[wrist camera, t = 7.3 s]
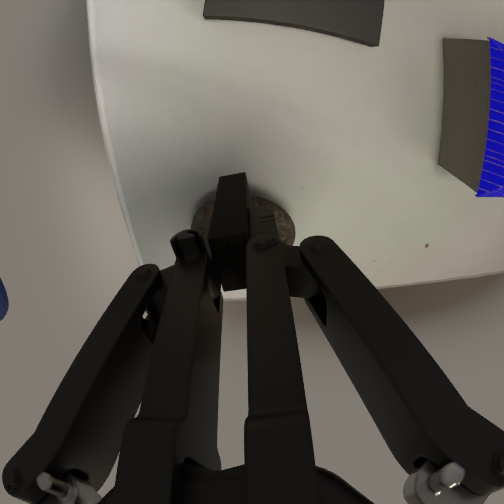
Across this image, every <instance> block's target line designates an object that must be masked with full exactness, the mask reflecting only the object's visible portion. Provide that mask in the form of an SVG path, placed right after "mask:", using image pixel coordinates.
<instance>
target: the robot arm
mask: <svg viewBox="0 0 504 504" xmlns="http://www.w3.org/2000/svg"><path fill="white" fill-rule="evenodd" d="M170 243H171V245H172V248H173V251H174V253H175V256H176V261H175V265H173V266H170V267H168V268H165V269H163V270H159V268H158V266H157V265H155V264H145V265H142V266H140V267H138V268H137V269H136V270H134V271H133V272H132V273H131V275H130V276H129V277H128V279H127V280H126V282H125V283H124V284H123V286H122V287H121V289H120V290H119V292H118V293H117V295H116V296H115V297H114V299H113V300H112V302H111V303H110V305H109V306H108V308H107V309H106V311H105V312H104V314H103V315H102V317H101V318H100V320H99V321H98V323H97V324H96V326H95V327H94V329H93V331H92V332H91V334H90V335H89V337H88V338H87V340H86V342H85V343H84V345H83V346H82V348H81V350H80V351H79V353H78V354H77V356H76V358H75V359H74V361H73V363H72V364H71V366H70V368H69V370H68V372H67V373H66V375H65V376H64V378H63V380H62V382H61V383H60V385H59V387H58V389H57V391H56V392H55V394H54V396H53V398H52V400H51V401H50V403H49V405H48V407H47V409H46V411H45V413H44V415H43V417H42V419H41V421H40V423H39V424H38V426H37V429H36V431H35V433H34V434H33V435H32V436H31V437H30V438H29V439H28V440H27V441H26V443H25V444H24V445H23V446H22V447H21V448H20V449H19V450H18V451H17V453H16V454H15V455H14V456H13V457H12V458H11V460H9V462H8V463H7V464H6V466H5V467H4V469H3V474H2V481H3V485H4V488H5V490H6V491H7V492H8V494H10V495H12V496H13V497H15V498H18V499H20V500H22V501H25V502H27V503H30V504H374V503H373V502H371V501H370V500H369V499H367V498H366V497H365V496H364V495H362V494H361V493H360V492H358V491H357V490H356V489H355V488H353V487H352V486H351V485H349V484H348V483H347V482H346V481H345V480H343V479H342V478H341V477H339V476H338V475H336V474H334V473H333V472H330V471H328V470H326V469H324V468H321V467H318V466H315V459H314V451H313V443H312V435H311V428H310V420H309V414H308V410H307V404H306V398H305V390H304V383H303V376H302V370H301V363H300V357H299V350H298V343H297V337H296V331H295V325H294V318H293V312H292V307H291V300H290V297H301V298H304V299H305V302H306V304H307V306H308V307H309V309H310V311H311V312H312V314H313V316H314V317H315V319H316V321H317V323H318V324H319V326H320V328H321V329H322V331H323V333H324V334H325V336H326V338H327V340H328V341H329V343H330V345H331V347H332V348H333V350H334V352H335V353H336V355H337V357H338V359H339V360H340V362H341V364H342V366H343V367H344V369H345V371H346V373H347V374H348V376H349V378H350V380H351V381H352V383H353V385H354V386H355V388H356V390H357V392H358V394H359V395H360V397H361V399H362V400H363V402H364V404H365V406H366V408H367V409H368V411H369V413H370V415H371V416H372V418H373V420H374V422H375V424H376V426H377V427H378V429H379V431H380V433H381V434H382V436H383V438H384V440H385V442H386V443H387V445H388V447H389V449H390V450H391V452H392V454H393V455H394V457H395V458H396V460H397V461H398V463H399V464H400V465H401V466H402V468H403V469H404V470H405V471H406V472H407V473H408V474H409V475H410V476H409V477H408V478H407V480H406V482H405V485H404V489H403V494H404V499H405V500H406V502H407V503H408V504H483V503H484V502H485V500H486V499H487V497H488V496H489V495H490V494H491V493H493V492H496V491H498V490H501V489H503V488H504V431H503V430H501V429H500V428H498V427H497V426H495V425H494V424H493V423H491V422H490V421H488V420H487V419H485V418H484V417H483V416H481V415H480V414H478V413H477V412H475V411H474V410H472V409H471V408H470V407H468V406H467V405H466V403H465V401H464V400H463V399H462V397H461V396H460V394H459V393H458V391H457V390H456V389H455V387H454V386H453V384H452V383H451V382H450V381H449V379H448V378H447V376H446V375H445V374H444V372H443V371H442V370H441V368H440V367H439V366H438V364H437V363H436V362H435V360H434V359H433V358H432V356H431V355H430V354H429V353H428V351H427V350H426V349H425V347H424V346H423V345H422V343H421V342H420V341H419V340H418V338H417V337H416V336H415V335H414V333H413V332H412V331H411V330H410V329H409V327H408V326H407V325H406V323H405V322H404V321H403V320H402V319H401V317H400V316H399V315H398V314H397V313H396V311H395V310H394V309H393V308H392V307H391V305H390V304H389V303H388V302H387V301H386V300H385V298H384V297H383V296H382V295H381V294H380V293H379V291H378V290H377V289H376V288H375V287H374V285H373V284H372V283H371V282H370V281H369V280H368V279H367V277H366V276H365V275H364V274H363V273H362V272H361V271H360V270H359V268H358V267H357V266H356V265H355V264H354V263H353V262H352V261H351V259H350V258H349V257H348V256H347V255H346V254H345V253H344V252H343V251H342V250H341V249H340V247H339V246H338V245H337V244H336V243H335V242H334V241H333V240H332V239H330V238H329V237H325V236H311V237H308V238H306V239H304V240H303V241H302V242H301V243H300V246H291V245H287V244H285V243H283V242H282V241H281V240H280V239H279V235H278V230H277V225H276V219H275V214H274V210H273V209H272V208H271V207H270V206H262V207H256V208H252V203H251V198H250V193H249V188H248V183H247V178H246V173H245V172H243V173H238V174H232V175H227V176H222V177H219V181H218V186H217V191H216V196H215V201H214V206H213V211H212V216H210V217H204V218H199V219H197V221H196V222H195V223H194V224H193V226H192V229H188V230H184V231H181V232H179V233H177V234H176V235H175V236H173V237H172V239H171V240H170ZM221 284H222V287H223V290H224V292H225V291H232V290H239V289H246V288H247V349H248V406H249V410H248V411H249V412H248V417H247V418H246V420H245V425H244V452H245V453H244V455H245V456H244V457H245V464H244V465H241V466H237V467H233V468H229V469H225V470H221V461H220V456H219V453H218V449H217V425H218V424H217V422H218V396H219V371H220V370H219V369H220V350H221V331H222V313H223V296H222V293H221ZM145 311H146V312H147V314H148V315H147V317H146V318H145V319H143V317H142V316H143V314H144V312H145ZM141 401H142V402H141ZM140 403H141V407H140V412H139V415H138V416H137V417H136V418H134V417H135V414H136V412H137V409H138V407H139V405H140ZM119 452H120V454H119ZM118 454H119V461H118V467H117V474H116V481H115V486H114V487H113V489H111V490H110V491H109V492H108V493H107V494H106V495H105V496H104V497H103V498H102V497H101V496H100V495H99V494H97V492H98V490H99V489H100V488H101V487H102V485H103V484H104V482H105V481H106V479H107V478H108V476H109V474H110V472H111V470H112V468H113V466H114V464H115V461H116V459H117V456H118Z"/></svg>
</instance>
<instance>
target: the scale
mask: <svg viewBox="0 0 504 504" xmlns="http://www.w3.org/2000/svg"><path fill="white" fill-rule="evenodd" d="M383 9H384V0H205V5H204V12H203V16H204V18H205V19H219V20H237V21H249V22H259V23H267V24H275V25H282V26H288V27H294V28H300V29H305V30H310V31H315V32H319V33H324V34H328V35H332V36H336V37H340V38H344V39H347V40H351V41H355V42H358V43H361V44H365V45H368V46H371V47H374V46H379V40H380V33H381V26H382V18H383Z"/></svg>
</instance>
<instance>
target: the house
mask: <svg viewBox="0 0 504 504" xmlns="http://www.w3.org/2000/svg"><path fill="white" fill-rule="evenodd" d="M487 38H488V39H489V40H490V41H485V40H472V39H443V49H444V108H443V125H442V137H441V146H440V155H439V163H438V165H440V166H441V167H443V168H444V169H445V170H447V171H448V172H450V173H451V174H453V175H454V176H455V177H457V178H458V179H459V180H461V181H462V182H463V183H465V184H466V185H467V186H469V187H470V188H471V189H473V190H474V191H475V192H476V193H477V194H476V195H475V196H476V197H504V44H502V43H500V42H498V41H496V40H494V39H492V38H490V37H487Z"/></svg>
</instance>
